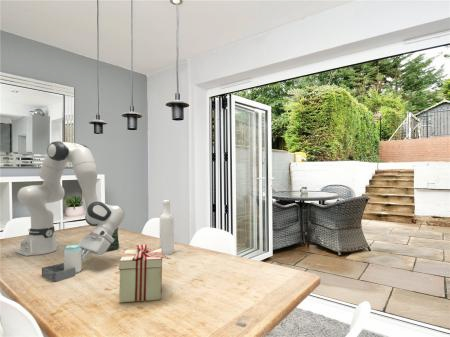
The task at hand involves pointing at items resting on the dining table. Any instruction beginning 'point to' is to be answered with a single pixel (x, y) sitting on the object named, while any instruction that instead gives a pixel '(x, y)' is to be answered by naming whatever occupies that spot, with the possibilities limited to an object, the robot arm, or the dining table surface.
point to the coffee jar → (116, 243)
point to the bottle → (167, 230)
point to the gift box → (141, 274)
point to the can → (72, 257)
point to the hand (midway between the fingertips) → (81, 259)
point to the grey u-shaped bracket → (57, 272)
